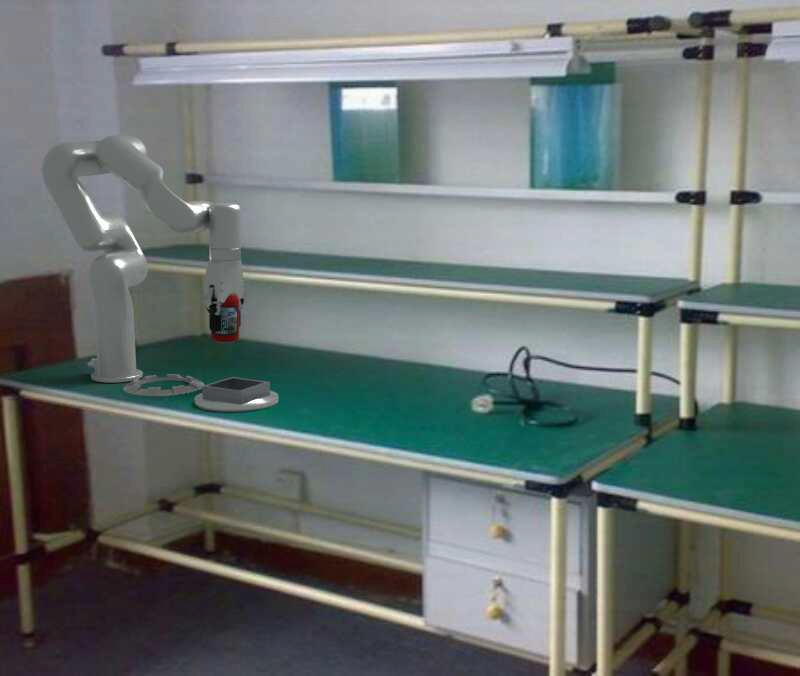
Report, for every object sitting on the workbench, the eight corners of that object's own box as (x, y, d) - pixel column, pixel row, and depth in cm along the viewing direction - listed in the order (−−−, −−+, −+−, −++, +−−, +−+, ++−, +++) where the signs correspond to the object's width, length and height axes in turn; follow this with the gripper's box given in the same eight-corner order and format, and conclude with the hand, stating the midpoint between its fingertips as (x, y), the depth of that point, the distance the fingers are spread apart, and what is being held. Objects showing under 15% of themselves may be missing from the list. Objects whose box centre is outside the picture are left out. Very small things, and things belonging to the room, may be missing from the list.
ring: (220, 385, 279) (220, 377, 279) (168, 401, 263) (168, 393, 262) (160, 377, 289) (159, 369, 288) (106, 392, 272) (105, 384, 272)
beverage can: (208, 343, 272) (208, 294, 270) (214, 338, 279) (214, 289, 277) (236, 344, 272) (236, 294, 270) (241, 339, 279) (241, 290, 276)
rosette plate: (177, 405, 257) (176, 387, 256) (229, 389, 273) (228, 372, 272) (245, 416, 248) (244, 397, 247) (294, 398, 264) (294, 380, 263)
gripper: (234, 250, 281) (234, 321, 284) (189, 257, 266) (189, 332, 269) (259, 253, 277) (259, 325, 280) (214, 259, 262) (214, 335, 266)
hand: (225, 327), depth 275 cm, fingers closed on beverage can, 6 cm apart
